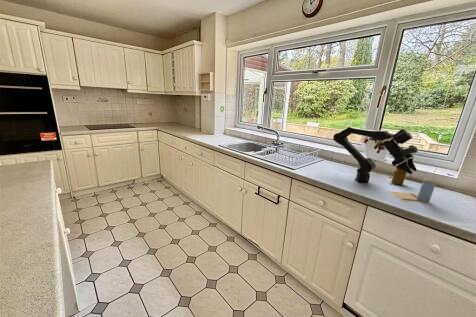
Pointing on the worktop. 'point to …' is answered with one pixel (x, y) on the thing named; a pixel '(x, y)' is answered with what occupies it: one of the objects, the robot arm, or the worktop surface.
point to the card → (407, 197)
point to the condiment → (398, 177)
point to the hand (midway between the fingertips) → (413, 172)
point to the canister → (426, 190)
